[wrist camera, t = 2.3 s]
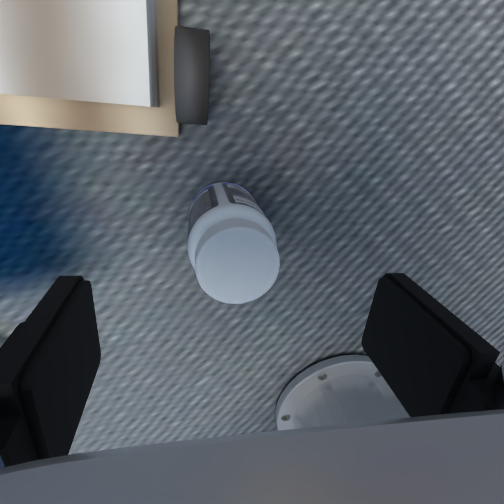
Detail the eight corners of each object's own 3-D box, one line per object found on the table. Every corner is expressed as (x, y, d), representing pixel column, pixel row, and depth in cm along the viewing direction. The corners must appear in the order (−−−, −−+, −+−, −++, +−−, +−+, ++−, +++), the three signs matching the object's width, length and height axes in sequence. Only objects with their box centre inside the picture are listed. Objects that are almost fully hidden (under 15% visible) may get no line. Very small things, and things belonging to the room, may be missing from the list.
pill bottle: (200, 253, 23) (202, 322, 16) (180, 191, 21) (171, 236, 14) (263, 236, 23) (296, 296, 16) (249, 172, 21) (278, 207, 14)
